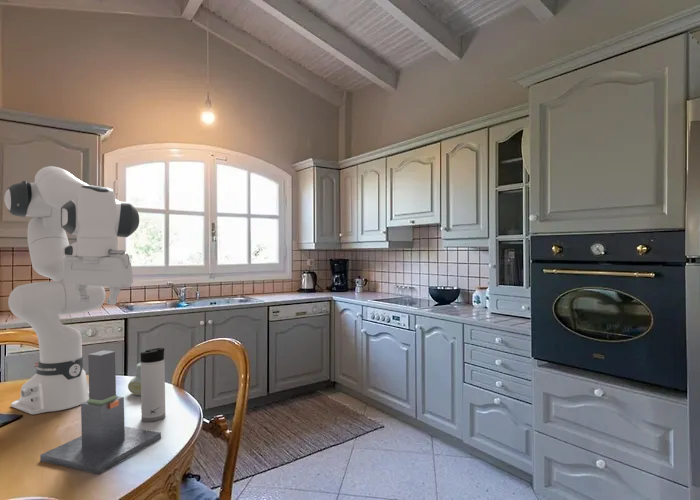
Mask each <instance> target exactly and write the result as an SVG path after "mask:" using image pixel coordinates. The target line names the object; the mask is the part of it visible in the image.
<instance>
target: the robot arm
mask: <svg viewBox="0 0 700 500" xmlns="http://www.w3.org/2000/svg"><path fill="white" fill-rule="evenodd" d="M3 198H4V199H3V200H4V204H5V207H6V208H7V211H8V212H9V213H10V215H12V216H15V217H16V216H17V217H21V218H25V217H30V218H31V219H30V220H29V222H28V225H27V236H26V237H27V245H28V251H29V257H30V261H31V267H32V269H33V270H34V271H35V272H36V273H37V274H38V275H40V276H42V277H46V278H48V279H50V280H52V281H37V282H36V281H35V282H30V283H26V284H21V285H18V286H16V287H15V288H13V289H12V290H11V292H10V294H9V296H8V300H7V301H8V308H9V310H10V313H12V314H13V315H14V316H15V317H17V318H18V319H21V320H22V321H25V323H27V324H28V325H29V326H31V328H32V329H33V330H34V332H35V334H36V336H37V340H38V348H39V361H38V362H35V363H34V367H35V368H36V370H35V374H34V375H33V376H31V378H29V379H28V380H27V381H26V382H24V384H22V385H21V388H20V398H18V399H16V400H14V401H13V402H11V404H10V407H12V408H15V409H17V410H19V411H21V412H25V413H26V414H30V415H37V414H43V413H49V412H58V411H62V410H68V409H71V408H75V407H77V406H79V405H80V406H81V403H83V402H86V401H88V400H89V385H88V381H87V374H86V373H87V372H86V371H85V370H84V367H85V360H84V356H83V348H82V346H83V343H82V342H83V341H82V334H81V332H80V330H78V329H77V328H75V327H72V326H70V325H66V324H63V323H62V322H61V320H60V319H61V318H60V317H61V316H68V315H76V314H85V313H87V312H91V311H94V310H98V309H100V308H101V307H102V306H103V304H104V302H105V300H106V304H107V305H109V306H113V305H114V306H115V305H117V303H118V296H119V294H120V293H121V288H122V289H123V288H128V287H131V286H132V284H133V282H134V278H133V269H132V268H133V267H132V262H131V258H130V255H129V253H127V252H126V250H123V249H120V250H119V249H118V238H119V237H120V238H128V237H130V236H131V235H132V234H134V233H135V232H136V231H137V230H138V228H139V226H140V215H139V211H138V210H137V208H136V207H135V206H134V205H133V204H132V203H130V202H129V201H120V200H118V199H116V195H115V192H114V190H113V189H112V188H110V187H107V186H101V185H92V184H91V185H90V184H88V183H87V182H84V181H83V180H80V179H79V178H77V177H76V176H75V175H73V174H72V173H70V172H69V171H68V170H66V169H64V168H61V167H58V166H53V165H50V166H44V167H42V168H40V169H39V170H38V171H37V172H36V174H35V176H34V182H29V181H26V180H22V181H21V182H18V183H13V184H11V185H10V186H8V187H7V188H6V191H5V193H4V197H3ZM67 233H68V234H70V235H73V236H76V241H75V242H73V243H70V242H69V239H68V235H67ZM105 288H108V289H109V292H110V294H109V297H106V295H107V294H106V289H105Z"/></svg>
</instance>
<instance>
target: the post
mask: <svg viewBox="0 0 700 500" xmlns="http://www.w3.org/2000/svg"><path fill="white" fill-rule="evenodd" d="M87 355H88V356H87V358H88V359H87V361H88V362H87V363H88V364H87V365H88V391H89V403H93V404H100V405H102V404H104V403H107V402H109V401H112V400H114V399H117V396H118V395H117V380H116V376H117V375H116V372H117V371H116V351H113V350H100V351H96V352H93V353H92V352H91V353H88V354H87Z"/></svg>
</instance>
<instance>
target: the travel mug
mask: <svg viewBox="0 0 700 500" xmlns="http://www.w3.org/2000/svg"><path fill="white" fill-rule="evenodd" d="M139 355H140V362H139V363H141V364H140V366H141V396H140V406H141V408H140V410H141V412H140V413H141V421H143V422H145V423H146V422H147V423H153V422H156V421H160V420H162V419H163V418H165V417H166V386H165V385H166V381H165V380H166V377H165V375H166V374H165V372H166V369H165V348H164V347H158V348H152V349H147V350H145V351H143V352H140V354H139Z"/></svg>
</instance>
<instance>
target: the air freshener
mask: <svg viewBox="0 0 700 500" xmlns="http://www.w3.org/2000/svg"><path fill="white" fill-rule="evenodd" d="M140 364H141V363H140V362H138V363H137V364H136V365H135V372H136V373H135V377H133V378H131V380H130V381H129V383H128V384H127V389H128V390H129V392H130V393H131V394H133V395H136V396H138V397H141V366H140Z"/></svg>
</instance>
